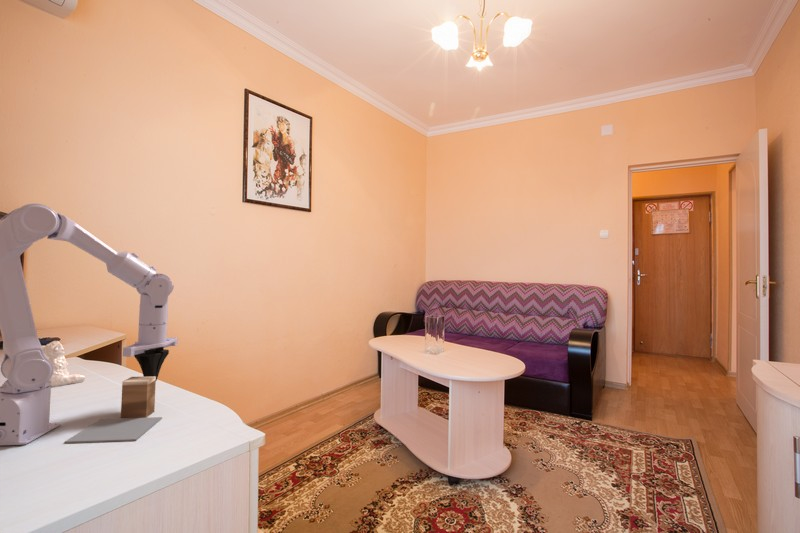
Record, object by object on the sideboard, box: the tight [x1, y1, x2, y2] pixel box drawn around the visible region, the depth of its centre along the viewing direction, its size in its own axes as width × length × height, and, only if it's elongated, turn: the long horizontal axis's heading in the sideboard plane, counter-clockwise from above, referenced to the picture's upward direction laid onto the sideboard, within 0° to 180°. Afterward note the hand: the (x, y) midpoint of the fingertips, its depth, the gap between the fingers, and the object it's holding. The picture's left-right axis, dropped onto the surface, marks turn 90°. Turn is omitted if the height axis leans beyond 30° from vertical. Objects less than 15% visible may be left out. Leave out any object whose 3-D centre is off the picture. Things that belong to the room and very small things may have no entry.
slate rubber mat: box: [64, 416, 163, 444], centre depth 79 cm, size 11×12×1 cm
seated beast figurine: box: [41, 340, 86, 388], centre depth 107 cm, size 10×9×12 cm
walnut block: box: [120, 376, 157, 418], centre depth 87 cm, size 4×5×8 cm
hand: (150, 381), depth 92 cm, fingers closed
